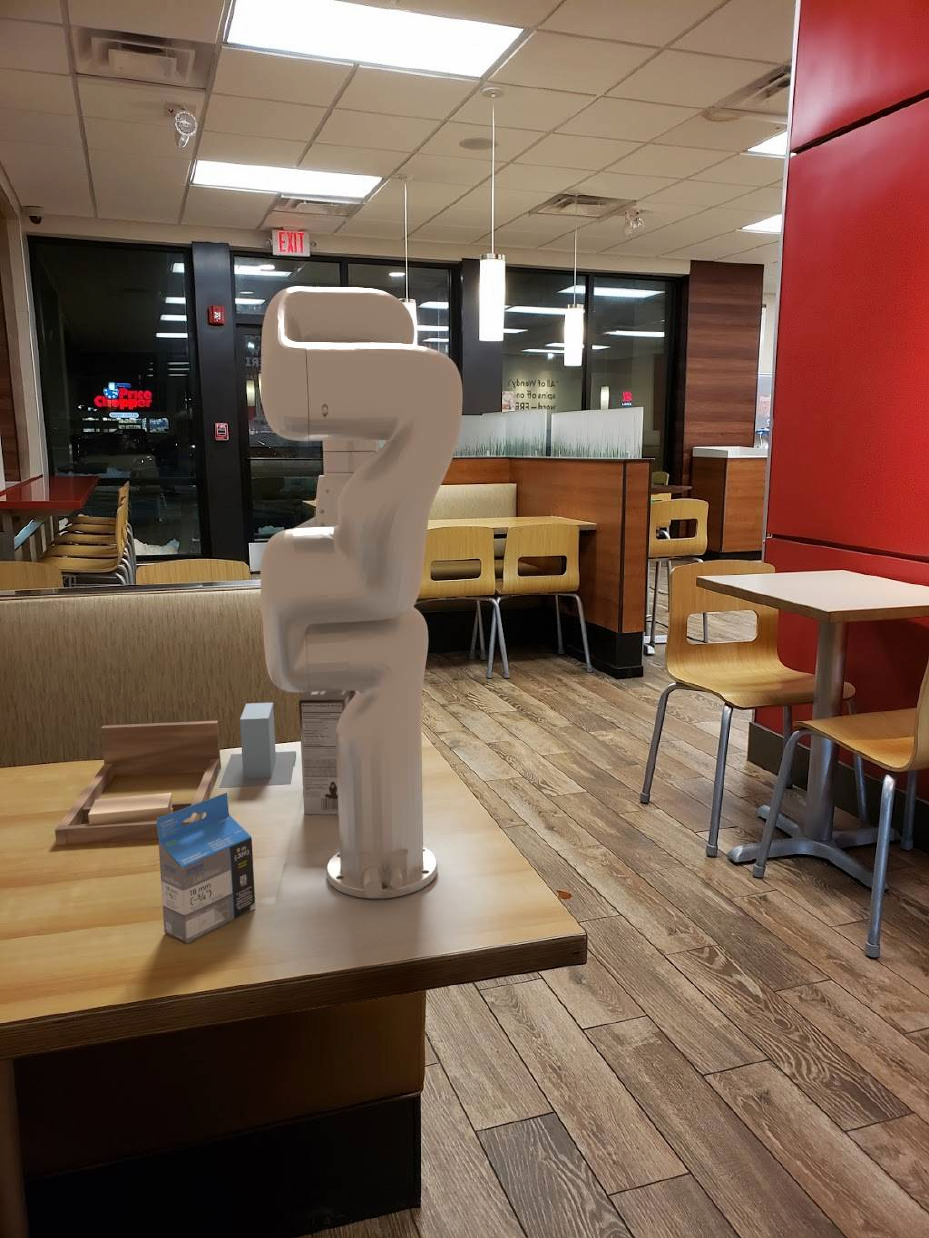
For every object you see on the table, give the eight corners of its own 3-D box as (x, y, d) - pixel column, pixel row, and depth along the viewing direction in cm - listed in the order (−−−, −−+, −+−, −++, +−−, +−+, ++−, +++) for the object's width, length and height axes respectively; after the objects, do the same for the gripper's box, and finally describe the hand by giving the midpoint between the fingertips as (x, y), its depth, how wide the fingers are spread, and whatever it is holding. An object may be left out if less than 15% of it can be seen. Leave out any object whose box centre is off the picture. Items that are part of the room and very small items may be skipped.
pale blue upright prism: (271, 777, 132) (268, 718, 131) (243, 778, 132) (240, 719, 130) (275, 758, 140) (273, 702, 138) (249, 759, 140) (246, 703, 138)
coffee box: (315, 789, 129) (310, 680, 126) (360, 789, 129) (356, 680, 126) (302, 815, 120) (297, 698, 117) (350, 815, 120) (347, 698, 117)
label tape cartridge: (186, 946, 90) (178, 828, 87) (162, 933, 92) (154, 819, 89) (257, 909, 96) (251, 799, 94) (233, 898, 99) (226, 791, 96)
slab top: (168, 818, 114) (167, 807, 114) (89, 825, 112) (88, 814, 112) (172, 803, 119) (171, 792, 119) (96, 810, 117) (95, 799, 117)
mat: (290, 787, 130) (290, 783, 130) (219, 791, 129) (219, 787, 129) (296, 754, 144) (296, 751, 143) (231, 757, 142) (231, 754, 142)
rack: (194, 840, 113) (190, 779, 111) (56, 848, 111) (50, 787, 109) (221, 771, 136) (217, 720, 135) (107, 777, 134) (103, 725, 133)
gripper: (412, 463, 129) (414, 582, 132) (288, 465, 127) (294, 586, 130) (416, 465, 122) (418, 591, 125) (285, 466, 120) (290, 594, 123)
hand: (355, 588), depth 128 cm, fingers open, 9 cm apart
